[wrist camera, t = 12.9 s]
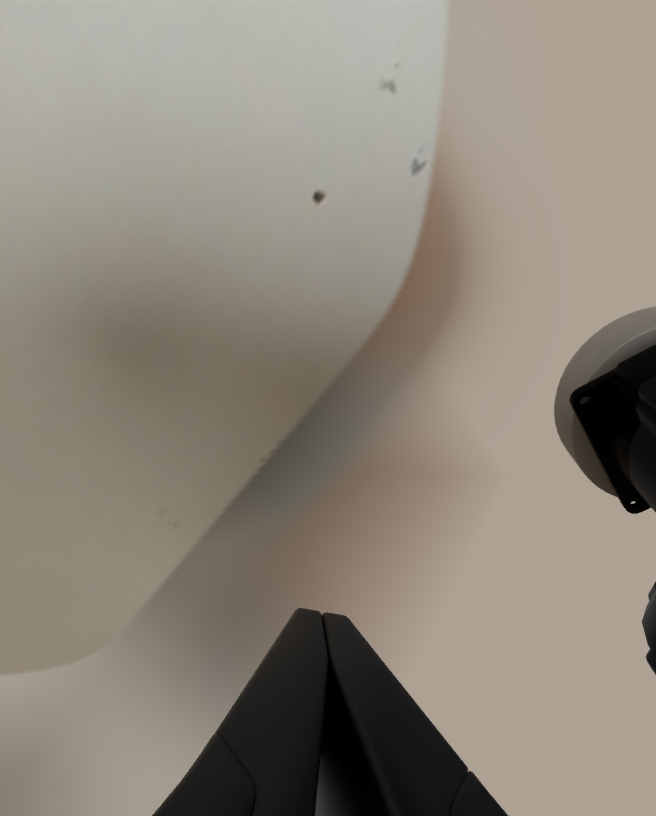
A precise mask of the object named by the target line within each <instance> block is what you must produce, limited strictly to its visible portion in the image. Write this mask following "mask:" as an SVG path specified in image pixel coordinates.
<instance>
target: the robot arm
mask: <svg viewBox="0 0 656 816" xmlns="http://www.w3.org/2000/svg"><path fill="white" fill-rule="evenodd" d="M586 396H588V397H589V399H588V401H587V402H586V403H585V404H579V402H580V400H581V399H582V398H583V397H586ZM569 401H570V405H571V407H572V409H573V411H574V413H575V415H576V417H577V419H578V420H579V422H580V424H581V426H582V428H583V430H584V432H585V434H586V436H587V438H588V440H589V442H590V444H591V446H592V448H593V450H594V452H595V454H596V456H597V458H598V459H599V461H600V463H601V465H602V467H603V469H604V471H605V473H606V475H607V477H608V479H609V481H610V483H611V485H612V487H613V489H614V491H615V493H616V495H617V497H618V499H619V500H620V502H621V504H622V506H623V507H624V508H625V509H626V511H628V512H629V513H631V514H638V513H641V512H643V511H645V510H647V509H649V508H652V509H653V510H654V511H655V512H656V344H655V345H653V346H651V347H649V348H647V349H645V350H643V351H642V352H640V353H638V354H636V355H634V356H632V357H630V358H628V359H626V360H624V361H623V362H621V363H619V364H618V366H617V367H616V368H615V369H613V370H611V371H609V372H607V373H606V374H604V375H602V376H600V377H598V378H596V379H594V380H592V381H590V382H588V383H587V384H585V385H583V386H581V387H579V388H577V389H576V390H574V391H573V392H572V394H571V395H570V399H569ZM635 499H638V501H637V502H636V503H633V504H631V502H632V501H633V500H635ZM648 596H649V603H648V605H647V607H646V610H645V614H644V617H643V620H642V624H643V627H644V631H645V635H646V639H647V643H648V645H649V647H650V650H649V652H648V653H647V655H646V659H647V662H648V663H649V665H650V667H651V668H652V670H653V671H654V673H655V674H656V582H655V584H654V586H653V587H652V589H651V591H650V592H649V595H648ZM467 772H468V767H467V766H466V765H465V764H464V762H463V761H462V760H461V759H460V757H459V756H458V755H457V754H456V752H455V751H454V750H453V749H452V747H451V746H450V745H449V744H448V742H447V741H446V740H445V739H444V737H443V736H442V735H441V734H440V732H439V731H438V730H437V729H436V727H435V726H434V725H433V724H432V722H431V721H430V720H429V718H428V717H427V716H426V715H425V714H424V712H423V711H422V710H421V709H420V707H419V706H418V705H417V704H416V702H415V701H414V700H413V698H412V697H411V696H410V695H409V694H408V692H407V691H406V690H405V689H404V687H403V686H402V685H401V683H400V682H399V681H398V680H397V679H396V677H395V676H394V675H393V673H392V672H391V671H390V670H389V668H388V667H387V666H386V665H385V663H384V662H383V661H382V660H381V659H380V657H379V656H378V655H377V653H376V652H375V651H374V650H373V648H372V647H371V646H370V645H369V643H368V642H367V641H366V640H365V638H364V637H363V636H362V635H361V633H360V632H359V631H358V630H357V628H356V627H355V626H354V625H353V623H352V622H351V621H350V620H349V618H347V617H346V616H344V615H339V614H333V613H323V614H322V615H321V613H320V612H319V611H315V610H309V609H303V608H298V609H297V610H295V612H294V613H293V615H292V616H291V618H290V619H289V621H288V623H287V624H286V626H285V627H284V629H283V630H282V632H281V633H280V635H279V636H278V638H277V639H276V641H275V642H274V644H273V645H272V647H271V648H270V650H269V652H268V653H267V655H266V656H265V658H264V659H263V661H262V662H261V664H260V665H259V667H258V669H257V670H256V671H255V673H254V675H253V676H252V678H251V679H250V680H249V682H248V684H247V685H246V687H245V688H244V690H243V691H242V693H241V694H240V696H239V698H238V699H237V700H236V702H235V704H234V705H233V706H232V708H231V710H230V711H229V713H228V714H227V716H226V717H225V719H224V720H223V722H222V723H221V725H220V726H219V728H218V729H217V731H216V733H215V735H213V736H212V737H211V739H210V740H209V742H208V743H207V745H206V746H205V748H204V750H203V751H202V753H201V754H200V755H199V757H198V758H197V760H196V761H195V762H194V764H193V765H192V767H191V768H190V769H189V771H188V772H187V774H186V775H185V777H184V778H183V779H182V781H181V782H180V783H179V784H178V785H177V787H176V788H175V789H174V790H173V792H172V793H171V794H170V795H169V796H168V797H167V799H166V800H165V801H164V802H163V803H162V805H161V806H160V807H159V808H158V810H157V811H156V812H155V813H154V814H153V815H152V816H508V815H507V814H506V813H505V811H504V810H503V809H502V808H501V807H500V805H499V804H498V803H497V802H496V801H495V799H494V798H493V797H492V796H491V795H490V793H489V792H488V791H487V790H486V788H485V787H484V786H483V785H482V784H481V782H480V781H479V780H478V778H477V777H476V776H475V775H474V773H473V772H471V771H469V772H468V773H467Z"/></svg>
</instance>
